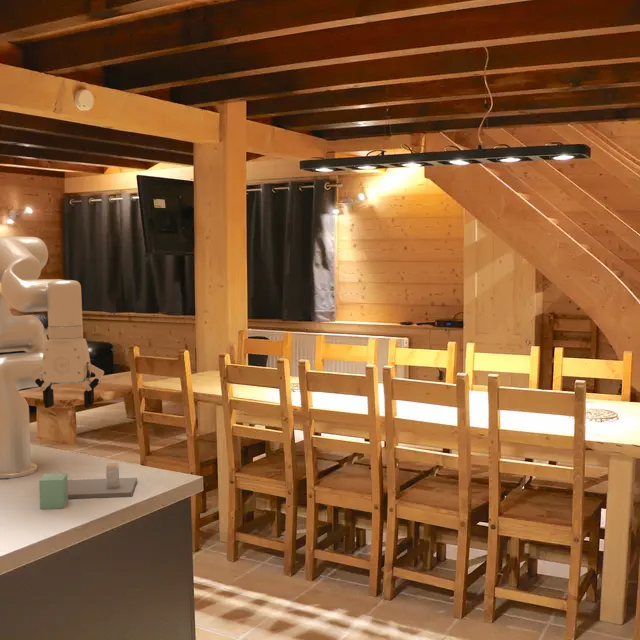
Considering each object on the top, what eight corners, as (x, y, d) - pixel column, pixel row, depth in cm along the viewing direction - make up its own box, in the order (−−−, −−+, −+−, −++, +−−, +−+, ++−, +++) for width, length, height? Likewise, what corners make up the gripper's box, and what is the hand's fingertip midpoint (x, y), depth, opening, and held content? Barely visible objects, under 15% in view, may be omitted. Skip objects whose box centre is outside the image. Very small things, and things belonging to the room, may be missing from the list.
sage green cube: (40, 508, 174) (39, 480, 173) (45, 501, 179) (44, 474, 178) (63, 508, 174) (62, 479, 174) (68, 500, 179) (67, 473, 179)
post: (106, 488, 185) (106, 466, 185) (108, 485, 188) (107, 463, 187) (117, 488, 186) (117, 466, 185) (119, 484, 188) (118, 463, 188)
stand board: (53, 499, 180) (53, 495, 180) (64, 484, 192) (63, 480, 192) (131, 496, 183) (131, 492, 182) (137, 481, 194) (136, 477, 194)
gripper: (22, 335, 174) (25, 409, 175) (94, 334, 171) (97, 410, 172) (38, 332, 181) (41, 404, 182) (108, 331, 179) (111, 404, 180)
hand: (69, 406), depth 177 cm, fingers open, 9 cm apart
